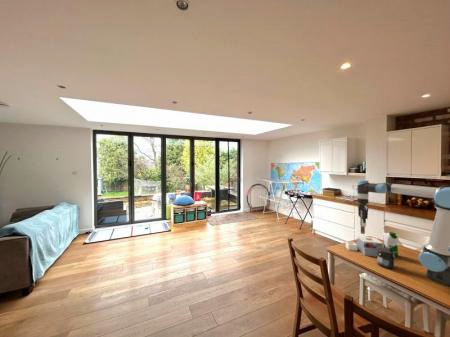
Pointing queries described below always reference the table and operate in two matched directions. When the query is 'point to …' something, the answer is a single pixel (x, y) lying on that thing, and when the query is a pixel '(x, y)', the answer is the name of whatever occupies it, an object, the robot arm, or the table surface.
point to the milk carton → (391, 242)
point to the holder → (351, 246)
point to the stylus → (362, 226)
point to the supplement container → (386, 258)
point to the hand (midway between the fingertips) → (362, 225)
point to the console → (369, 250)
